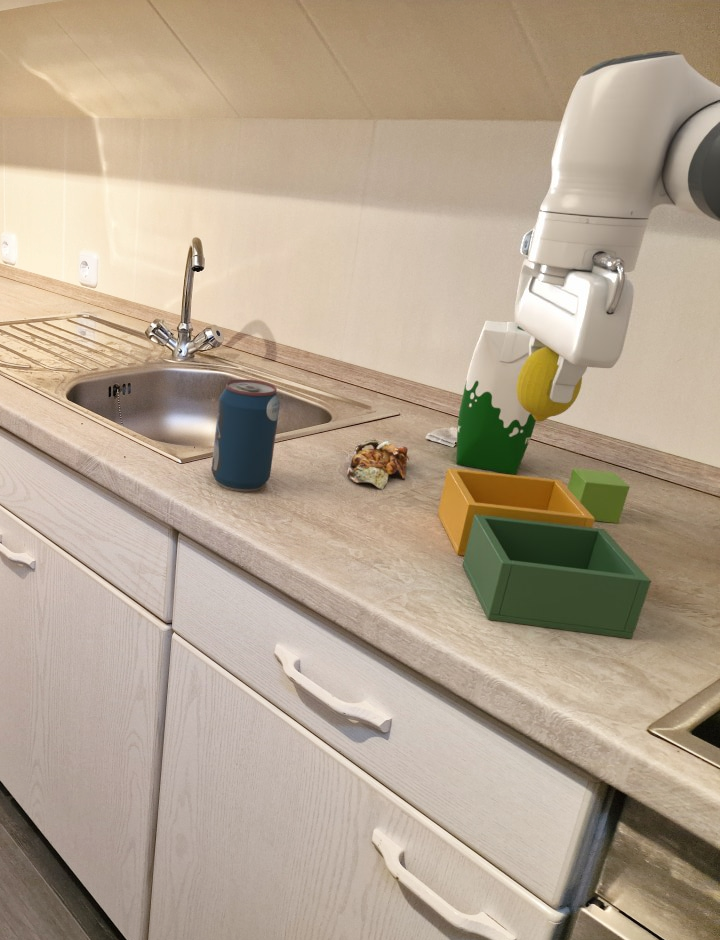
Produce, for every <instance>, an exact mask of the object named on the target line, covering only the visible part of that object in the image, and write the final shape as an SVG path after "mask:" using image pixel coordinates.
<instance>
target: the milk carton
mask: <svg viewBox="0 0 720 940" xmlns="http://www.w3.org/2000/svg"><path fill="white" fill-rule="evenodd" d="M530 338H531V335H530V334H529V333H527V332H526V331H524V330H523V329H521V328H520V327H519V326H517V325H516V324H515V321H507V322H505V321H497V320H487V319H486V320H485V322H484V324H483V327H482V330H481V333H480V335H479V338H478V340H477V342H476V344H475V348H474V351H473V353H472V357H471V360H470V363H469V366H468V369H467V370H468V371H467V376H466V380H465V384H464V389H463V392H462V398H461V402H460V407H459V411H458V419H457V429H456V430H457V431H456V465H458V466H463V467H469V468H474V469H480V470H484V471H492V472H495V473H501V474H509V475H517V473H518V470H519V468H520V465H521V463H522V460H523V458H524V455H525V453H526V451H527V448H528V445H529V443H530V441H531V439H532V436H533V433H534V428H535V426H536V422H537V421H536V420H535V419H534V417H533V416H532V414H531V413H529V412H528V411H526V410H525V409H524V408H523V407H522V406H521V404H520V402H519V401H518V398H517V392H516V387H517V380H518V376H519V374H520V371H521V369H522V367H523V365H524V363H525V361H526V360H527V358H528V357H529V342H530Z"/></svg>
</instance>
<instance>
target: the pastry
mask: <svg viewBox="0 0 720 940" xmlns="http://www.w3.org/2000/svg"><path fill="white" fill-rule="evenodd" d="M367 446H371V447H373V448H367V449H364V448H365V447H367ZM408 450H409V449H408V447H406V446H398V447H397V446H395V445H393V444H392V443H391V441H389V440H386V441H384V442H380V443H379V441H378V440H377V439H375V437H373V438H372V437H371V438H369V439H368V440H365V441H363V443H361V442H360V443H359V442H358V443H357V445H356V446H355V448H354V451H353V455H352V456H351V457H350V461H349V464H348V467H347V473H346V475H347V477H348V479H349V480H352V482H355V483H370V484H372V485H374V486H375V487H376V488H378V489H380V490H384V488H385V486H386V485H387V484H388V479H389V475H393V474H395V473H396V472H397V471H398V472H399V474H400V476H401V478H402V480H406V474H407V472H408V471H407V466H406V465H407V462H408V461H410V458H409V456H408Z"/></svg>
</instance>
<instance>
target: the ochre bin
mask: <svg viewBox="0 0 720 940" xmlns="http://www.w3.org/2000/svg"><path fill="white" fill-rule="evenodd" d="M439 501H440V502H439V506H438V510H437V516H438V518H439V520H440V522H441V524H442V526H443V528H444V530H445V533H446V534H447V537H448V539H449V541H450V544H451V545H452V547H453V549H454V552H455V553H456V555H457V556H465V552H466V548H467V544H468V540H469V535H470V531H471V527H472V523H473V519H474V515H475V514H477V515H486V516H494V517H503V518H512V519H521V520H529V521H538V522H547V523H555V524H564V525H573V526H582V527H590V528H594V523H595V521H594V520H595V518H594V517H593V516H592V515H591V514H590V513H589V512H588V510H587V509H586V508H585V507H584V506H583V505H582V504H581V503H580V502H579V500H578V499H577V498H576V497H575V496H574V495H573V494H572V493H571V491H570V490H569V489H568V486H566V485H565V483H564V482H563V481H562V480H561V479H555V478H547V477H546V478H545V477H535V476H528V475H519V474H518V475H517V474H516V475H513V474H507V473H501V472H490V471H480V470H471V469H461V468H453V467H447V470H446V474H445V479H444V483H443V488H442V491H441V497H440V500H439Z"/></svg>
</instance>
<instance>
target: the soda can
mask: <svg viewBox="0 0 720 940" xmlns="http://www.w3.org/2000/svg"><path fill="white" fill-rule="evenodd" d="M280 407H281V403H280V400H279V396H278V394H277V386H276V385H274V384H272V383H269V382H265V381H262V380H256V379H233V380H229V381H227V382H226V384H225V388H224V390H223V391H222V392H221V394H220V396H219V397H218V408H217V416H216V424H215V432H214V433H215V434H214V443H213V451H212V459H211V469H210V471H211V474H212V476H213V478H214V480H215V482H216V484H217V485H219V487H222V488H224V489H226V490H231V491H235V492H246V493H248V492H256V491H259V490H261V489H262V488H263V487H264V485H266V483H267V482H268V481H269V479H270V477H271V471H272V465H273V457H274V450H275V442H276V437H277V436H276V435H277V428H278V421H279V413H280Z"/></svg>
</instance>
